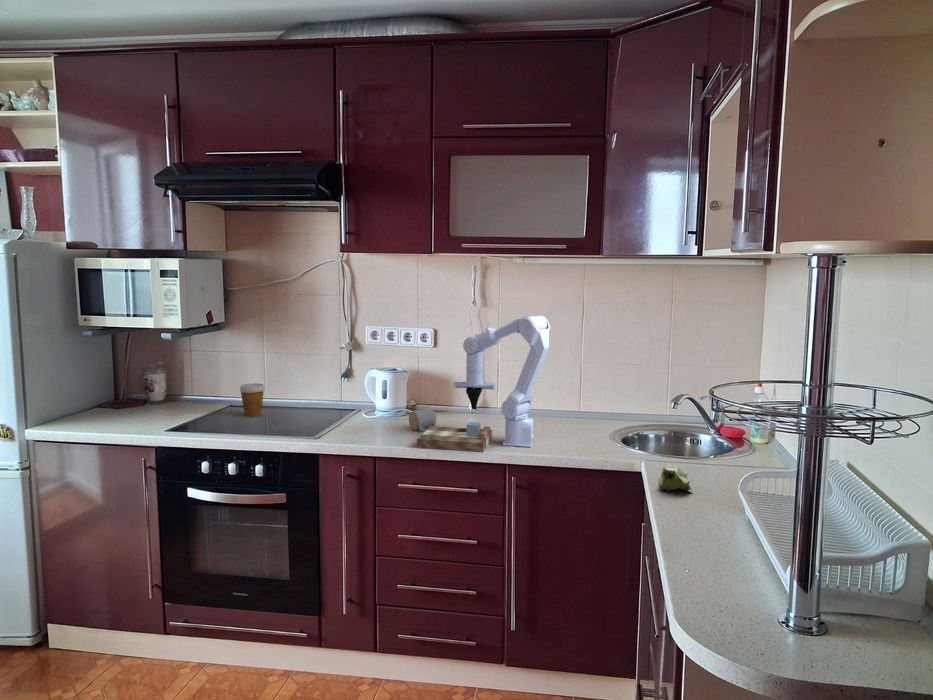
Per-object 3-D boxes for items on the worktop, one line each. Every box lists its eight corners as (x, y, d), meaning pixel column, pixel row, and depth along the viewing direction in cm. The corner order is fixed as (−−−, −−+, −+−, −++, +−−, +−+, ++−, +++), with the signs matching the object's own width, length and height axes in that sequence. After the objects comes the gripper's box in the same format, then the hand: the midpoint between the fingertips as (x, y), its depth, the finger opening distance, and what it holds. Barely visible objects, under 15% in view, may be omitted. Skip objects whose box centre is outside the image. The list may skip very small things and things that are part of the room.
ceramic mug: (407, 428, 242) (407, 408, 241) (426, 425, 247) (426, 405, 245) (421, 435, 233) (422, 414, 232) (441, 432, 238) (441, 411, 237)
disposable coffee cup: (261, 411, 268) (260, 382, 266) (268, 415, 260) (267, 386, 258) (237, 414, 262) (236, 384, 261) (244, 418, 255) (243, 388, 253)
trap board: (491, 438, 230) (492, 424, 229) (483, 452, 212) (483, 436, 212) (430, 434, 234) (430, 420, 233) (417, 447, 216) (417, 432, 216)
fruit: (671, 502, 173) (666, 472, 172) (652, 493, 182) (647, 465, 181) (701, 492, 175) (696, 463, 174) (681, 484, 184) (676, 456, 183)
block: (480, 434, 223) (480, 422, 223) (478, 437, 219) (478, 425, 219) (468, 433, 224) (468, 421, 223) (466, 436, 220) (466, 424, 219)
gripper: (496, 369, 234) (496, 407, 235) (456, 368, 236) (456, 405, 238) (493, 373, 227) (492, 411, 228) (452, 371, 229) (452, 409, 231)
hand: (474, 408), depth 233 cm, fingers closed
